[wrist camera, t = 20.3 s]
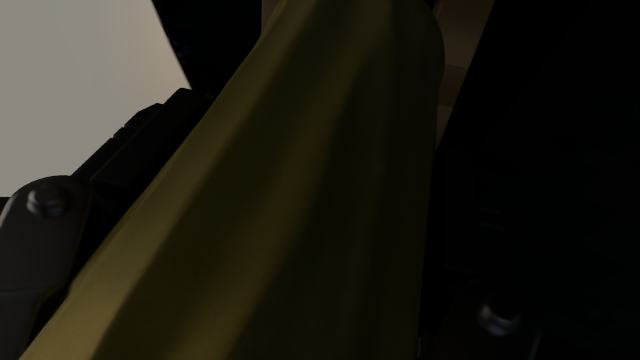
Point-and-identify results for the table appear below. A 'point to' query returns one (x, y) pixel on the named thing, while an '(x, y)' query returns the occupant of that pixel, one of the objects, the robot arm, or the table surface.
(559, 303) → the table surface
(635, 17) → the table surface
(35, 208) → the robot arm
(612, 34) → the table surface
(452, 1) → the holder
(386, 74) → the vase
